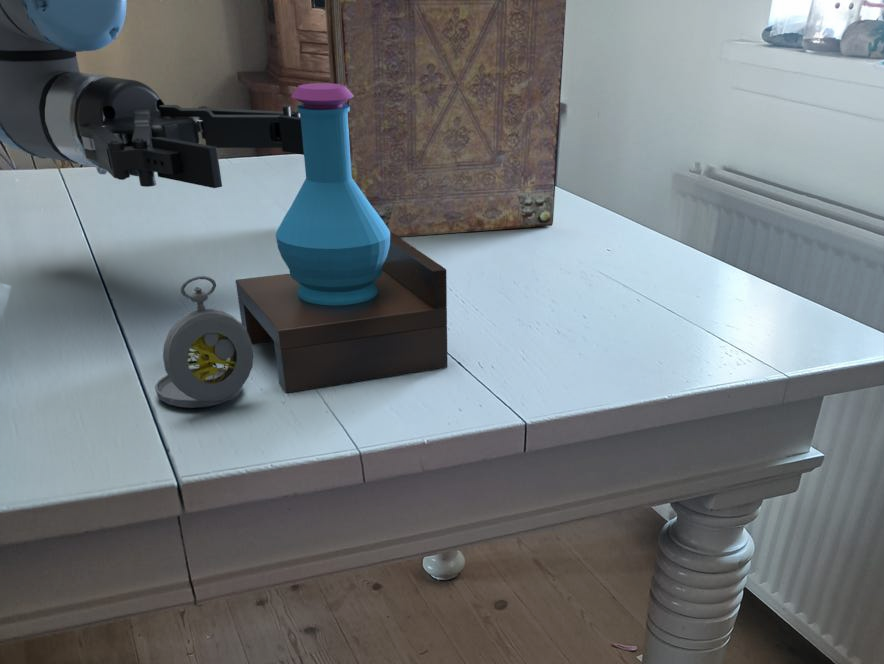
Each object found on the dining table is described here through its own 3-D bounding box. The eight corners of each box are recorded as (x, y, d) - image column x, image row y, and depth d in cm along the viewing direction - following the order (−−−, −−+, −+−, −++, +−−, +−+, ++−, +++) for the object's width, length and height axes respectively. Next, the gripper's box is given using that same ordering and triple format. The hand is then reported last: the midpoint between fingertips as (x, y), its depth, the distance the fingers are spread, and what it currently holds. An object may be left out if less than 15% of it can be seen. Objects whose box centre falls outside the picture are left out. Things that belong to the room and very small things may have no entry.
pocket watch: (190, 374, 76) (167, 246, 70) (279, 390, 74) (263, 259, 68) (126, 412, 70) (94, 275, 64) (220, 430, 68) (197, 291, 62)
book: (353, 240, 110) (332, -81, 91) (339, 221, 116) (316, -81, 98) (553, 226, 116) (571, -77, 97) (529, 209, 123) (540, -77, 104)
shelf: (286, 393, 73) (273, 290, 68) (243, 336, 83) (229, 243, 78) (447, 367, 78) (446, 269, 73) (389, 316, 88) (384, 227, 83)
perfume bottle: (347, 318, 73) (331, 98, 64) (259, 297, 76) (231, 87, 67) (414, 288, 79) (408, 84, 70) (329, 270, 83) (313, 75, 74)
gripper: (223, 151, 93) (384, 179, 84) (-3, 195, 77) (164, 236, 68) (211, 64, 89) (380, 83, 79) (-33, 91, 73) (143, 120, 63)
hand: (281, 154), depth 73 cm, fingers open, 13 cm apart
